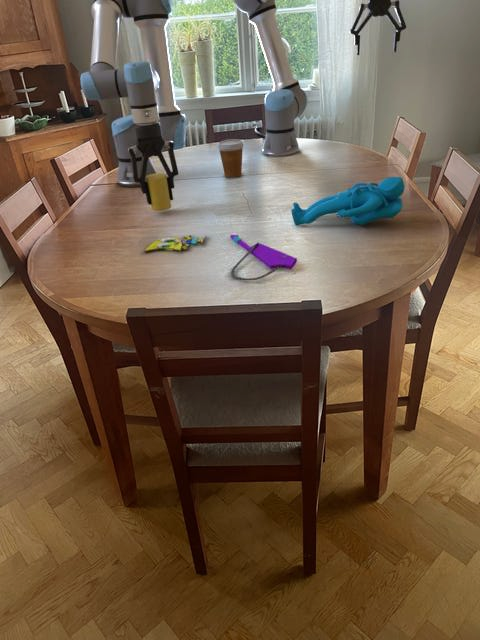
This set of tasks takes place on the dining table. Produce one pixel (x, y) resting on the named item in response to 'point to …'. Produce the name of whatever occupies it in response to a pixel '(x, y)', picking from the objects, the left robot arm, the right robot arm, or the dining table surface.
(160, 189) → the can
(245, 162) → the dining table surface
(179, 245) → the toy
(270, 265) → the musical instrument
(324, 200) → the toy
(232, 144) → the disposable coffee cup
